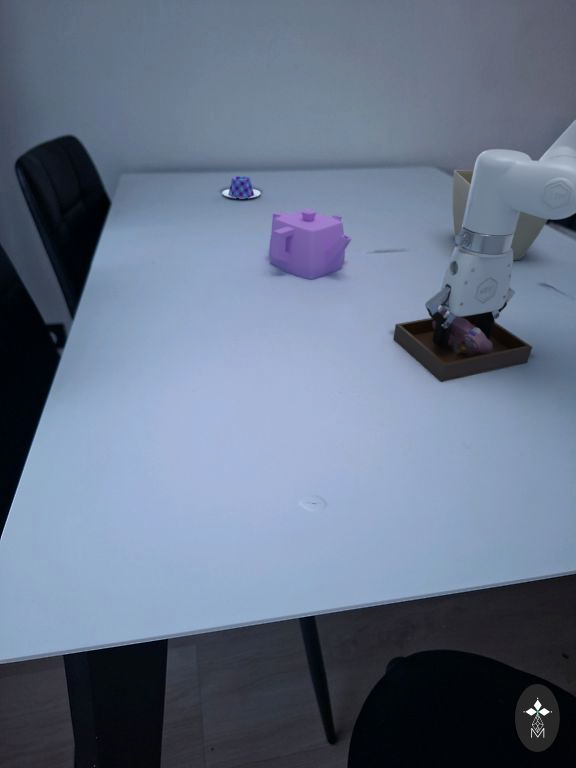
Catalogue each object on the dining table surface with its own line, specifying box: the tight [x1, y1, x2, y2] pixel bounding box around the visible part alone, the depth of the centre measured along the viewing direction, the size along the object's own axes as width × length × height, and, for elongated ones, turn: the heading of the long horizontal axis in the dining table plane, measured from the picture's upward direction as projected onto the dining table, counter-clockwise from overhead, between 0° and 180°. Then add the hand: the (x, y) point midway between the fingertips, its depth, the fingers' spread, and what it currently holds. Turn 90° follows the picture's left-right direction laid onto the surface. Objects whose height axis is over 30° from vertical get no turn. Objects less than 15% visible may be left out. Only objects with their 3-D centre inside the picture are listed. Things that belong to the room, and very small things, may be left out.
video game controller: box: [432, 312, 493, 355], centre depth 89 cm, size 10×5×7 cm, turn 38°
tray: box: [393, 314, 533, 382], centre depth 90 cm, size 17×14×3 cm
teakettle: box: [268, 208, 352, 280], centre depth 117 cm, size 17×17×12 cm
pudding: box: [221, 175, 261, 200], centre depth 166 cm, size 12×12×5 cm
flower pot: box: [452, 169, 549, 261], centre depth 127 cm, size 19×19×17 cm
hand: (460, 340), depth 90 cm, fingers open, 8 cm apart
